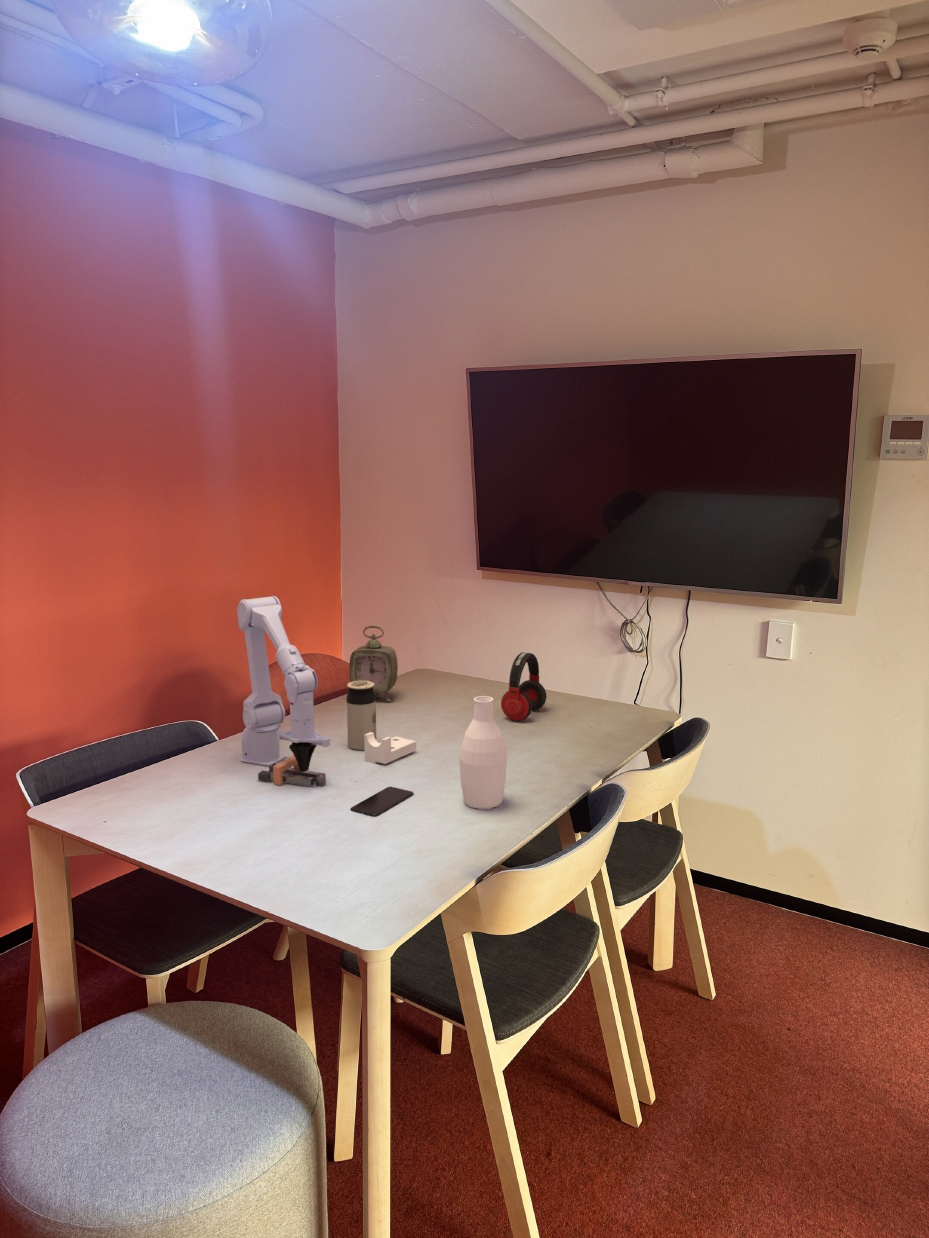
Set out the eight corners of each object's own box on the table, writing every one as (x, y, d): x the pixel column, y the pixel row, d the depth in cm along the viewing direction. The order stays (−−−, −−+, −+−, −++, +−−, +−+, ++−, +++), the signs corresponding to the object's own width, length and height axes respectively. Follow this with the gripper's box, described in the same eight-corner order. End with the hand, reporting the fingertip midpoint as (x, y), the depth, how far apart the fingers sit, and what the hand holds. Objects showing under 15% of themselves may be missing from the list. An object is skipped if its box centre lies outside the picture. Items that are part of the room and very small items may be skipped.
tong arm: (314, 783, 215) (313, 777, 215) (309, 787, 213) (309, 780, 213) (263, 776, 220) (262, 770, 220) (258, 779, 218) (258, 773, 217)
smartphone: (375, 819, 197) (415, 795, 210) (375, 815, 196) (415, 791, 210) (348, 812, 201) (389, 788, 214) (348, 808, 200) (389, 785, 214)
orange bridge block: (302, 771, 223) (301, 755, 222) (280, 784, 215) (279, 767, 214) (295, 770, 224) (295, 754, 223) (273, 783, 215) (273, 766, 214)
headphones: (527, 725, 262) (528, 661, 258) (497, 720, 266) (498, 657, 262) (549, 710, 277) (550, 649, 273) (520, 706, 282) (521, 645, 278)
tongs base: (331, 781, 218) (331, 771, 217) (322, 787, 214) (322, 777, 213) (274, 771, 224) (274, 761, 224) (264, 776, 221) (264, 767, 220)
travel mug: (342, 748, 241) (341, 686, 238) (356, 739, 249) (355, 679, 245) (368, 752, 239) (366, 689, 235) (381, 743, 246) (380, 681, 242)
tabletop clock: (350, 702, 286) (348, 627, 281) (357, 694, 294) (356, 622, 290) (392, 704, 283) (391, 629, 278) (399, 696, 292) (398, 623, 287)
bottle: (452, 797, 208) (452, 695, 203) (494, 790, 212) (495, 689, 207) (470, 815, 198) (471, 707, 193) (514, 807, 202) (516, 702, 197)
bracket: (384, 767, 228) (384, 739, 227) (364, 761, 232) (364, 734, 231) (416, 753, 238) (416, 727, 237) (396, 748, 243) (396, 722, 241)
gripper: (268, 718, 213) (270, 771, 216) (318, 726, 208) (320, 780, 210) (284, 711, 220) (287, 762, 222) (334, 718, 214) (335, 770, 217)
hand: (304, 770), depth 217 cm, fingers closed
